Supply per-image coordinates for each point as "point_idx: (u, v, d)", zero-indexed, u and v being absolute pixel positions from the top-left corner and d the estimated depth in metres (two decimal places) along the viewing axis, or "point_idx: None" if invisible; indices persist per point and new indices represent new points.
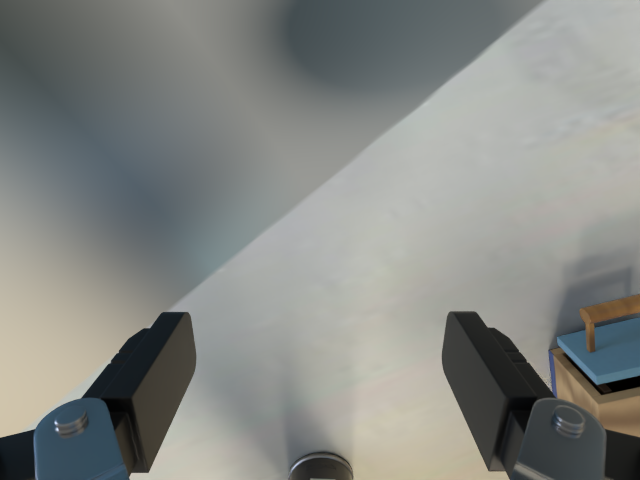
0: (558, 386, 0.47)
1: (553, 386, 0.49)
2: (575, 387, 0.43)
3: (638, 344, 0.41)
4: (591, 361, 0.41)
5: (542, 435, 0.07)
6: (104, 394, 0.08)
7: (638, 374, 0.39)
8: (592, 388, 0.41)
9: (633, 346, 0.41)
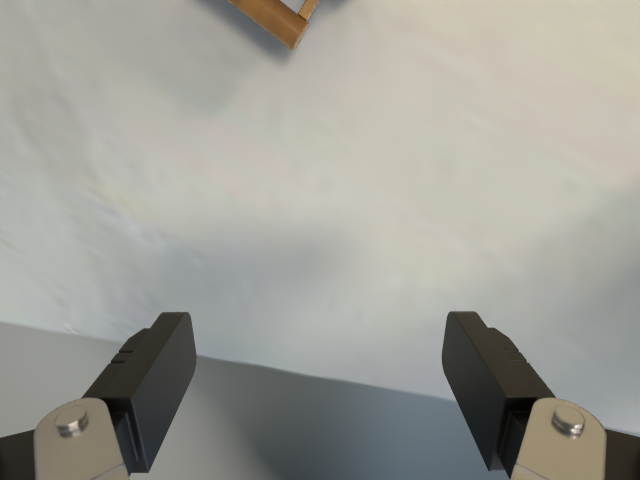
0: None
1: None
2: None
3: None
4: None
5: (542, 435, 0.07)
6: (104, 394, 0.08)
7: None
8: None
9: None
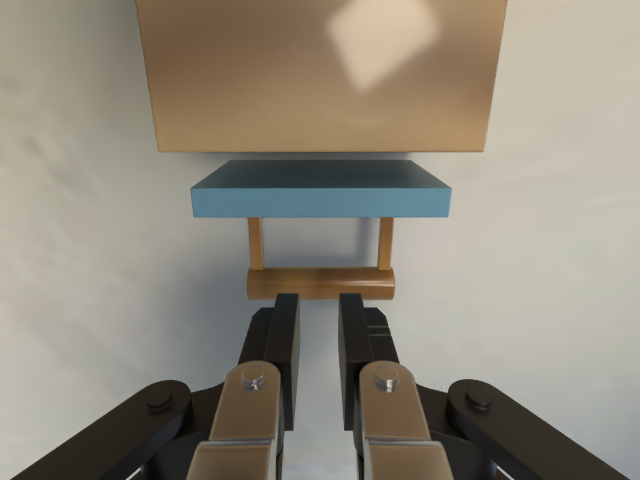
0: None
1: None
2: None
3: None
4: None
5: (374, 400, 0.08)
6: (265, 358, 0.09)
7: (344, 193, 0.15)
8: None
9: None
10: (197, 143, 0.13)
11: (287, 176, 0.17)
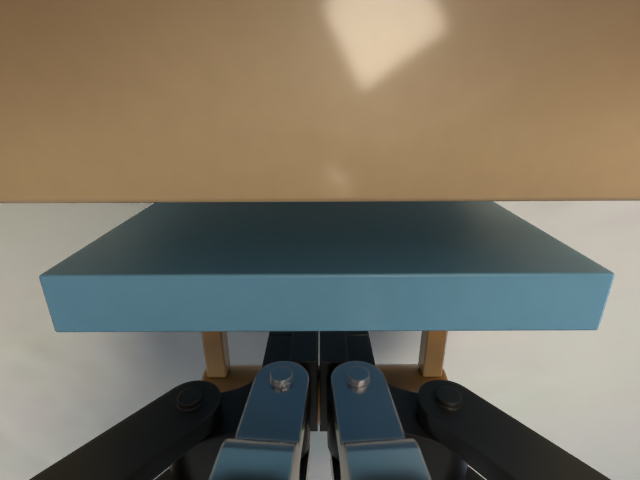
0: None
1: None
2: None
3: None
4: None
5: (347, 402, 0.08)
6: (291, 358, 0.09)
7: (378, 285, 0.07)
8: None
9: None
10: (5, 182, 0.05)
11: (261, 231, 0.09)
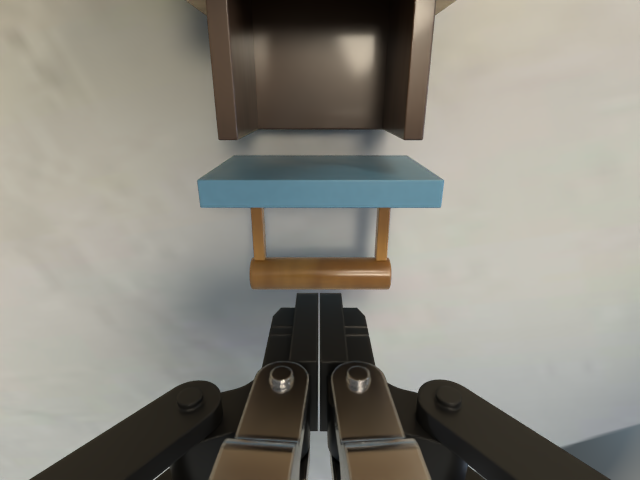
0: None
1: None
2: None
3: None
4: None
5: (347, 402, 0.08)
6: (291, 358, 0.09)
7: (343, 185, 0.15)
8: None
9: None
10: None
11: (288, 169, 0.17)
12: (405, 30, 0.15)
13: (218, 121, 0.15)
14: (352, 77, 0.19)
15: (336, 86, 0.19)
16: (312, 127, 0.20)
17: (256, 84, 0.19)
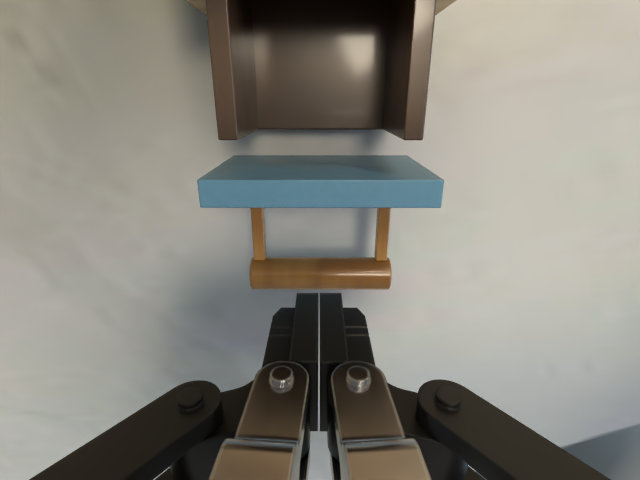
0: None
1: None
2: None
3: None
4: None
5: (347, 402, 0.08)
6: (291, 358, 0.09)
7: (343, 185, 0.15)
8: None
9: None
10: None
11: (288, 169, 0.17)
12: (405, 30, 0.15)
13: (218, 121, 0.15)
14: (352, 77, 0.19)
15: (336, 86, 0.19)
16: (312, 127, 0.20)
17: (256, 84, 0.19)
